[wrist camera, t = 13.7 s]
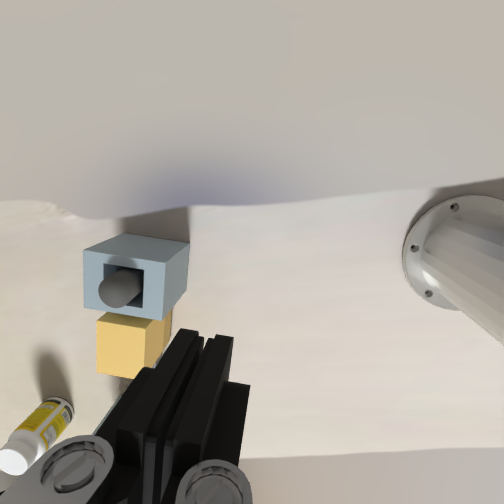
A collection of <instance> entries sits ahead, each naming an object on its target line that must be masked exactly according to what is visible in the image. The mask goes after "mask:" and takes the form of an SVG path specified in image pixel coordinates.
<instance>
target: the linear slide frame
mask: <svg viewBox="0 0 504 504" xmlns="http://www.w3.org/2000/svg"><path fill="white" fill-rule="evenodd" d="M189 247H190V243H186V242H179V241H173V240H166V239H160V238H153V237H147V236H140V235H134V234H127V233H123V234H120V235H118V236H116V237H113V238H111V239H108V240H106V241H104V242H101V243H99V244H96V245H94V246H92V247H89V248H87V249H84V250H83V277H84V308H88V309H94V310H100V311H106V312H112V313H118V314H124V315H130V316H136V317H142V318H148V319H154V320H160V321H162V320H163V319H164V318H165V316H166V315H167V314H168V313H169V311H170V310H171V309H172V308H173V306H174V305H175V304H176V303H177V301H178V300H179V299H180V297H181V296H182V295H183V294H184V292H185V291H186V285H187V272H188V260H189ZM123 267H130V268H136V269H143V270H144V289H143V290H142V291H141V292H140V293H139V294H138V295H136V296H135V297H134V298H133V299H132V300H131V301H130V302H129V303H127V304H126V305H125V306H124V307H121V308H112V307H109V306H107V305H106V304H104V303H103V302H102V300H101V299H100V297H99V293H98V288H99V285H100V283H101V282H102V281H103V280H104V279H106V278H107V277H109V276H110V275H112V274H114V273H115V272H117V271H118V270H120V269H122V268H123ZM121 397H122V395H120V396H119V397H118V399H117V400H116V402H115V403H114V404H113V406H112V407H111V409H110V410H109V411H108V413H107V414H106V416H105V417H104V418H103V420H102V421H101V423H100V424H99V425H98V427H97V428H96V430H95V431H94V432H93V434H92V435H93V436H94V435H95V434H96V432H97V431H98V429H99V428H100V426H101V425H102V424H103V422H104V421H105V419H106V418H107V417H108V415H109V414H110V412H111V411H112V409H113V408H114V407H115V405H116V404H117V402H118V401H119V399H120V398H121Z"/></svg>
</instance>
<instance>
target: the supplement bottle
mask: <svg viewBox="0 0 504 504" xmlns="http://www.w3.org/2000/svg"><path fill="white" fill-rule="evenodd" d="M73 416H74V412H73V409H72V407H71V405H70V404H69V403H68V402H67V401H65V400H63V399H61V398H58V397H51V398H48V399H46V400H45V401H44V402H43V403H42V404H41V405H40V406H39V407H38V408H37V409H36V410H35V411H34V412H33V413H32V414H31V415H30V416H29V417H28V418H27V419H26V420H25V421H24V422H23V423H22V424H21V425H20V426H19V427H18V428H17V429H16V430H15V431H14V432H13V433H12V434H11V435H10V437H9V439H8V442H7V443H6V444H5V445H4V446H3V447H2V448H1V449H0V468H1V469H2V470H3V471H4V472H6V473H8V474H11V475H21V474H23V473H24V472H25V471H26V470H27V469H28V468H29V467H30V466H31V465H32V464H33V463H34V461H36V460H38V459H39V458H40V457H41V456H42V455H43V454H44V453H45V452H47V450H48V449H49V448H50V447H51V445H52V444H53V443H54V442H55V441H56V439H57V438H58V437H59V436H60V434H61V433H62V432H63V431H64V429H65V428H66V427H67V426H68V425H69V423H70V422H71V421H72V419H73Z"/></svg>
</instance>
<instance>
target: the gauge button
mask: <svg viewBox="0 0 504 504" xmlns="http://www.w3.org/2000/svg"><path fill="white" fill-rule="evenodd" d="M143 289H144V270H143V269H136V268H130V267H123V268H122V269H120V270H118V271H117V272H115V273H114V274H112V275H110V276H109V277H107V278H106V279H104V280H103V281H102V282H101V283H100V285H99V288H98V293H99V297H100V299H101V300H102V302H103V303H104V304H106V305H107V306H109V307H112V308H121V307H124V306H125V305H126V304H127V303H129V302H130V301H131V300H132V299H133V298H134V297H135V296H136V295H138V294H139V293H140V292H141V291H142V290H143Z"/></svg>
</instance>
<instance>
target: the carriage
mask: <svg viewBox="0 0 504 504" xmlns="http://www.w3.org/2000/svg"><path fill="white" fill-rule="evenodd" d="M171 315H172V309H171V310H170V311H169V313H168V314H167V315H166V316H165V318H164V319H163V320H162V321H160V320H154V319H148V318H142V317H136V316H130V315H124V314H118V313H112V312H107V313H105V314H104V315H103V316H102V317H101V318H99V319H98V320H97V373H103V374H108V375H114V376H119V377H125V378H131V379H134V378H135V377H136V375H137V374H138V373H139V371H140V370H141V369H142V368H143V367H150V368H152V367H153V365H154V363H155V362H156V360H157V359H158V357H159V356H160V354H161V353H162V351H163V350H164V348H165V347H166V345H167V344H168V342H169V341H170V329H171Z"/></svg>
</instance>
